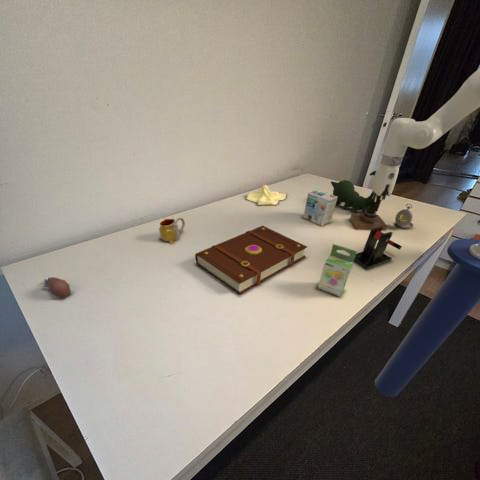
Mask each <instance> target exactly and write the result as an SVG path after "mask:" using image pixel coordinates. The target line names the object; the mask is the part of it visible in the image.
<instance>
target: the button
mask: <svg viewBox="0 0 480 480" xmlns="http://www.w3.org/2000/svg"><path fill="white" fill-rule="evenodd" d="M376 214H377V212H370V211H369V210H367V211H366V213H365V216H366V217H370V218H374V217H375V215H376Z"/></svg>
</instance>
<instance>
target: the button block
mask: <svg viewBox="0 0 480 480" xmlns="http://www.w3.org/2000/svg"><path fill="white" fill-rule="evenodd" d="M365 213H366V212H363V213H362V212H361V214H359V213H351V214H350V216H349V221H350V222H351V224H352V225H353V227H354V228H355V229H356V230H367V231H368V230H369V231H371V229H374V228H377V227H382V228H383V229H382V231H385V230H386V228H387V223H386V222H385V221H384V220H383V219H382V217H381V216H380V215H379V214H377V213H376V215H375V217H374V218H370V217H366V216H365Z"/></svg>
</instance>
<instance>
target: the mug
mask: <svg viewBox="0 0 480 480" xmlns="http://www.w3.org/2000/svg"><path fill="white" fill-rule="evenodd" d="M180 220H181V227H180V228H179V225H178V222H179V221H180ZM185 224H186V223H185V219H184V218H182V217H177V218H176V220H175V219H174V218H164V219H162V220H161V221H160V222H159V228H158V230H159V235H160V240H161V241H164V242H166V243H170V244H172V243H173V242H175V241H177V240H178V239H179V238H180V233H182V232H183V230H184V228H185Z"/></svg>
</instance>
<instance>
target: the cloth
mask: <svg viewBox="0 0 480 480" xmlns="http://www.w3.org/2000/svg"><path fill="white" fill-rule="evenodd" d="M286 197H287V194H286V193H281V192H278V191H275V190H270V188H269V187H268V185H267V184H263V185H261V188H260V189H259V190H258V191H255V190H253V191H249V192H248V193H247V195H246V198H245V200H248V201H250V202H253V203H257V205H258V206H266V205H267V206H269V205H271V206H272V205H274V206H276V205H278V203H279V201H283V200H285V199H286Z"/></svg>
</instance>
